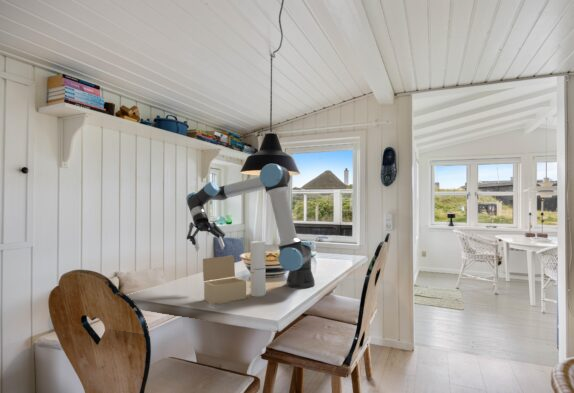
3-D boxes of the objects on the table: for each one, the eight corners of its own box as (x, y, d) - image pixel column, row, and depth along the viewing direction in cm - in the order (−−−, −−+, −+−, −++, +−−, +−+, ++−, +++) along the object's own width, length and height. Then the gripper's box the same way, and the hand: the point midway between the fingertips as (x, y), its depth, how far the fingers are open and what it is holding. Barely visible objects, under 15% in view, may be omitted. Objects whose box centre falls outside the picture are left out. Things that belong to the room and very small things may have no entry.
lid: (204, 281, 148) (203, 280, 149) (234, 276, 158) (233, 276, 159) (203, 258, 149) (202, 258, 150) (234, 255, 159) (233, 255, 160)
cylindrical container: (262, 296, 152) (262, 242, 153) (248, 295, 154) (248, 242, 155) (267, 292, 159) (267, 241, 160) (253, 292, 161) (253, 241, 161)
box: (204, 299, 148) (204, 282, 148) (235, 293, 157) (235, 277, 158) (213, 304, 140) (213, 286, 140) (246, 298, 149) (246, 280, 150)
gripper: (218, 221, 184) (230, 251, 172) (174, 221, 169) (184, 254, 157) (223, 212, 180) (235, 242, 168) (178, 211, 165) (188, 245, 153)
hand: (210, 248), depth 162 cm, fingers open, 13 cm apart
